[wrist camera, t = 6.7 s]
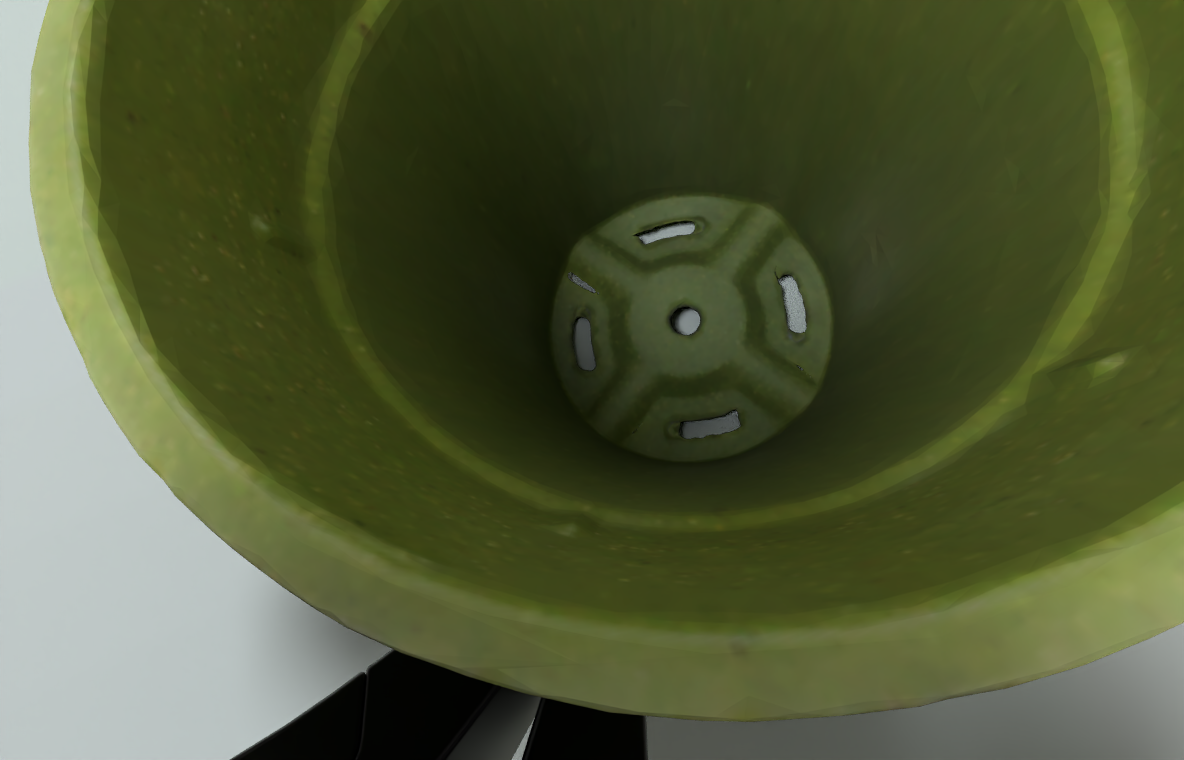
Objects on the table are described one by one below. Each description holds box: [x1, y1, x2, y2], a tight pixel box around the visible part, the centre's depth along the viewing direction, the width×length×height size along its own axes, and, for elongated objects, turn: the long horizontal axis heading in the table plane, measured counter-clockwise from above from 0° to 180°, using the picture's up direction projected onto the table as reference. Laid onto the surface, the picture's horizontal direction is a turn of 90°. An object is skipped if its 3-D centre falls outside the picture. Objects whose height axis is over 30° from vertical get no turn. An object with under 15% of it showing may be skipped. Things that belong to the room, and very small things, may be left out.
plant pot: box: [29, 0, 1184, 722], centre depth 10 cm, size 12×12×11 cm
